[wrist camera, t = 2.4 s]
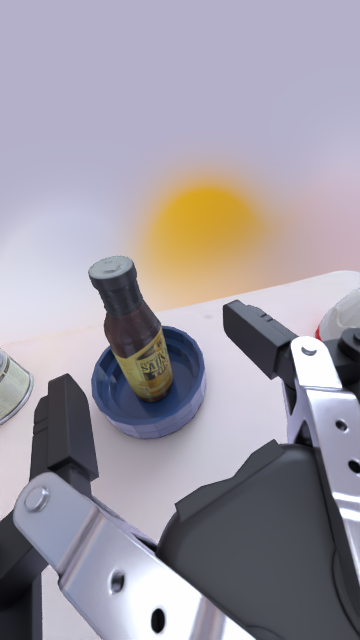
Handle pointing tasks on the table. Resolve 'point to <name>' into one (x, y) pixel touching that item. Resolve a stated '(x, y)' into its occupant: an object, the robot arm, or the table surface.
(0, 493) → the table surface
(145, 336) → the sauce bottle
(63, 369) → the table surface
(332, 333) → the kitchen timer
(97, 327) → the table surface
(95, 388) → the bowl
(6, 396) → the coffee can
